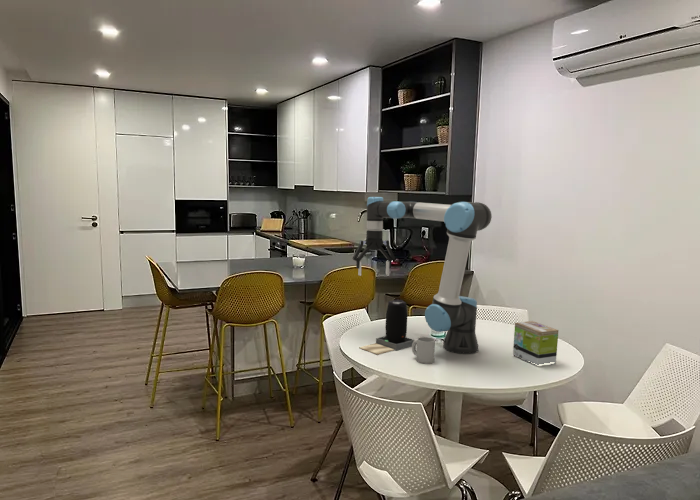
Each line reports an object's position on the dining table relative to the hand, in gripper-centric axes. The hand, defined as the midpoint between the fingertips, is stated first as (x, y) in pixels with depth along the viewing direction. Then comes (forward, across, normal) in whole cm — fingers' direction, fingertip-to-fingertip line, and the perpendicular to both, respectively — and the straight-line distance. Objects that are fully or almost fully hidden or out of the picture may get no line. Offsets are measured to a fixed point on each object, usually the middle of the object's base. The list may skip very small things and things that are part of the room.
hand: (373, 275), depth 242 cm
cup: (+29, -9, +40) cm, 51 cm away
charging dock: (+28, -5, +19) cm, 34 cm away
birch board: (+28, +5, +24) cm, 38 cm away
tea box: (+30, -56, +47) cm, 79 cm away
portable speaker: (+29, -5, +19) cm, 35 cm away
